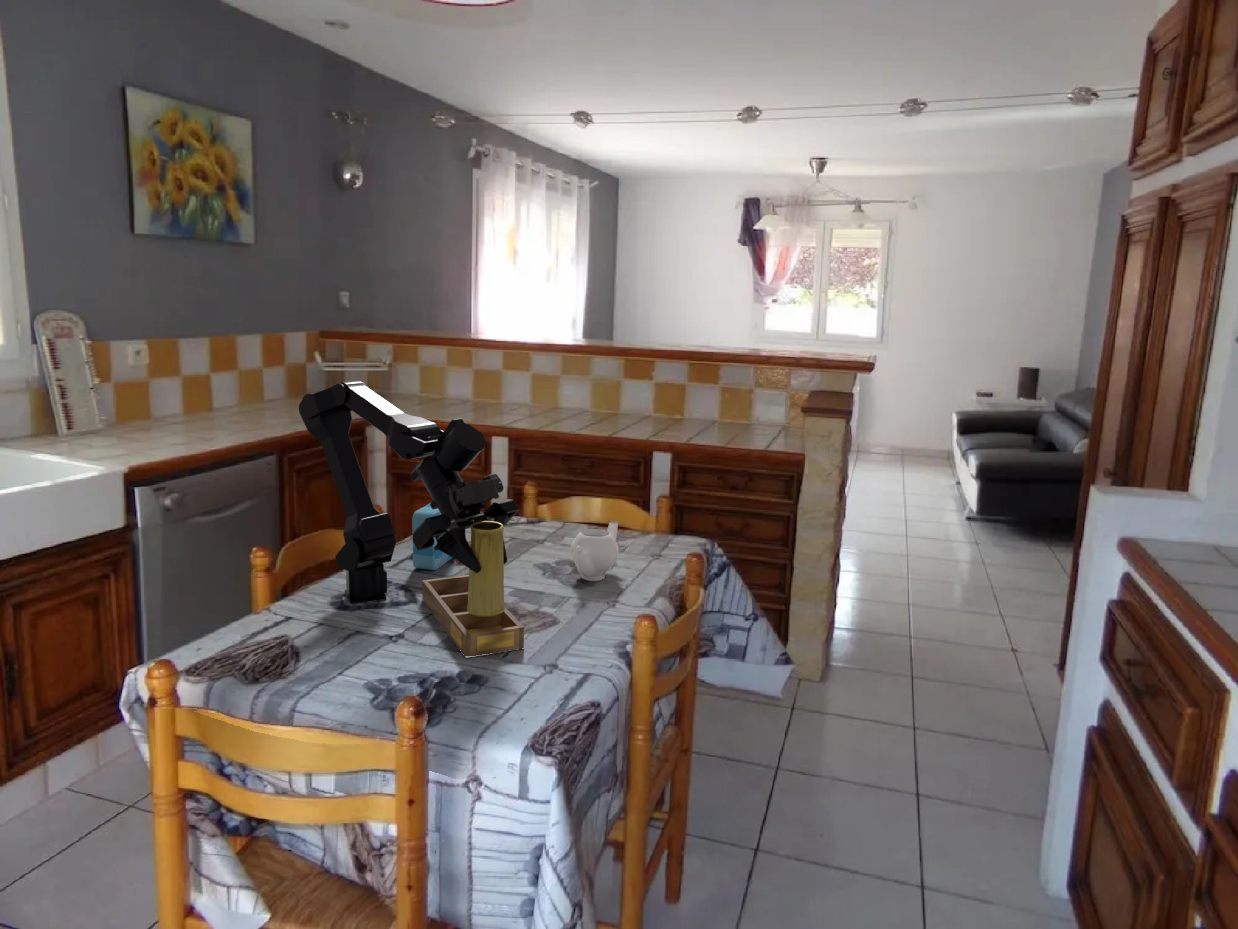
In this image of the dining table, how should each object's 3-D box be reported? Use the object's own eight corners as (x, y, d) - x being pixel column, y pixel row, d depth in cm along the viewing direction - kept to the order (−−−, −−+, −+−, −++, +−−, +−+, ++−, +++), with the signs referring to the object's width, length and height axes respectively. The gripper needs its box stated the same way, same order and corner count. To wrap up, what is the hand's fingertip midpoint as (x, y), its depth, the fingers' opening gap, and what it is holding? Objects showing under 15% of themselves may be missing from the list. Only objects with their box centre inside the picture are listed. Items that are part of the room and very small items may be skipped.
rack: (464, 659, 134) (464, 636, 134) (421, 600, 158) (421, 580, 158) (524, 649, 139) (524, 627, 138) (473, 593, 163) (473, 574, 162)
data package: (433, 572, 173) (432, 514, 171) (412, 570, 174) (411, 512, 172) (457, 555, 185) (457, 500, 182) (437, 553, 186) (437, 498, 183)
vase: (496, 600, 144) (497, 518, 141) (511, 613, 139) (512, 528, 136) (461, 606, 141) (461, 522, 138) (475, 619, 136) (476, 532, 133)
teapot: (549, 588, 167) (550, 542, 165) (593, 559, 185) (595, 518, 183) (593, 596, 163) (595, 549, 161) (634, 567, 181) (636, 524, 179)
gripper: (424, 467, 130) (473, 554, 126) (512, 451, 145) (559, 529, 140) (391, 507, 136) (437, 591, 132) (479, 488, 151) (523, 563, 147)
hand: (492, 567), depth 138 cm, fingers closed on vase, 5 cm apart
